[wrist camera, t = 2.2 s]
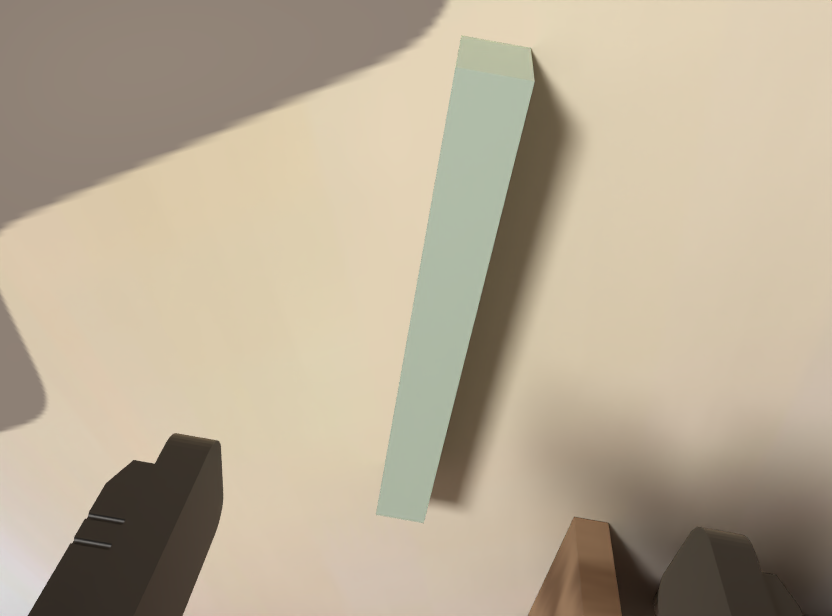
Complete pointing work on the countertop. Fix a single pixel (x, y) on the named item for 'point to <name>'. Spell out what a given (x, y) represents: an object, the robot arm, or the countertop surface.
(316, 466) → the countertop surface
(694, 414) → the countertop surface
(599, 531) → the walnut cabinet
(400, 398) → the sage stick
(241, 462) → the countertop surface
